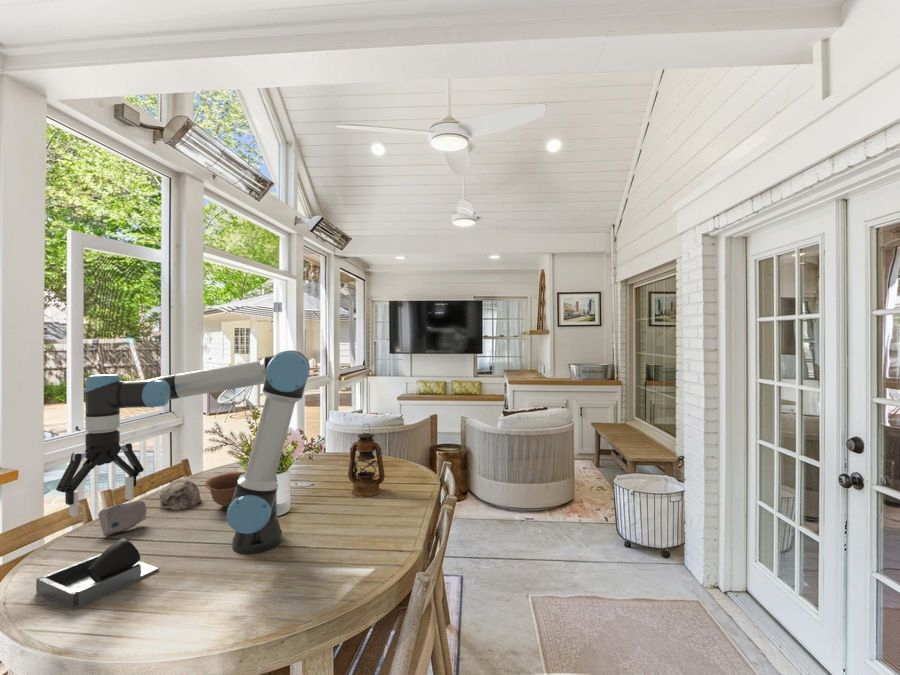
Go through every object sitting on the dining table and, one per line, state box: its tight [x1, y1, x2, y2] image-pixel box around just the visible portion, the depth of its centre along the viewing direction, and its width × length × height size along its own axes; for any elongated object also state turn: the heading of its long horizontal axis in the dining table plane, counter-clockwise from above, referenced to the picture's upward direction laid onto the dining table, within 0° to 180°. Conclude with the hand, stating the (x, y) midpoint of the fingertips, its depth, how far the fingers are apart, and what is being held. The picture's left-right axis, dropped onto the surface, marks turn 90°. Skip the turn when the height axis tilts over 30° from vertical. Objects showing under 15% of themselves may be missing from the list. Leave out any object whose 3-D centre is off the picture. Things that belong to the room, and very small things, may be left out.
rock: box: [159, 478, 202, 511], centre depth 181 cm, size 15×12×10 cm
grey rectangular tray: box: [35, 553, 160, 612], centre depth 123 cm, size 17×21×4 cm
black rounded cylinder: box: [87, 537, 141, 582], centre depth 123 cm, size 8×12×10 cm
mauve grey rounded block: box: [97, 500, 148, 537], centre depth 156 cm, size 13×10×6 cm
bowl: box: [203, 471, 246, 511], centre depth 180 cm, size 22×22×11 cm
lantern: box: [347, 423, 386, 497], centre depth 196 cm, size 17×13×30 cm
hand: (102, 507), depth 124 cm, fingers open, 13 cm apart
